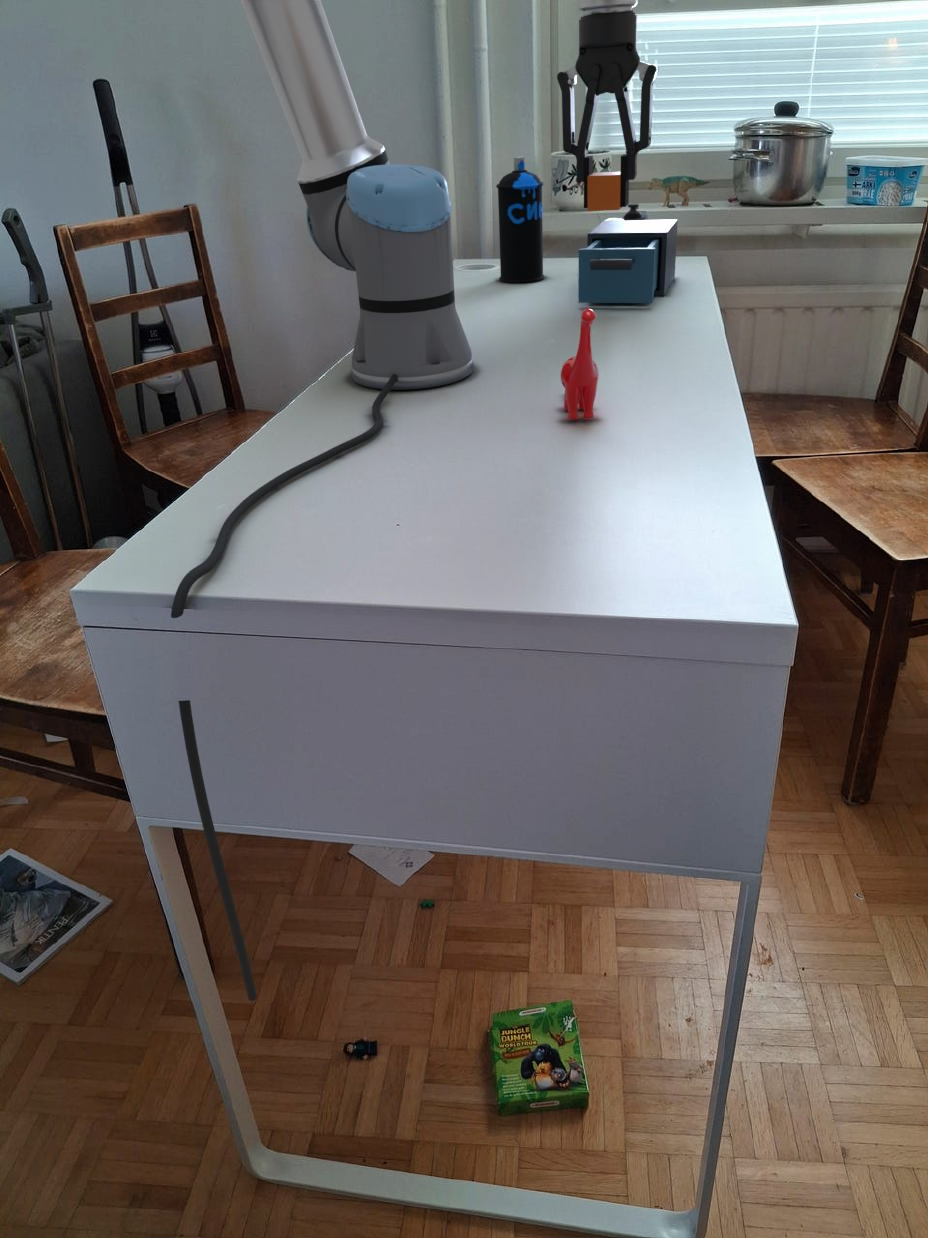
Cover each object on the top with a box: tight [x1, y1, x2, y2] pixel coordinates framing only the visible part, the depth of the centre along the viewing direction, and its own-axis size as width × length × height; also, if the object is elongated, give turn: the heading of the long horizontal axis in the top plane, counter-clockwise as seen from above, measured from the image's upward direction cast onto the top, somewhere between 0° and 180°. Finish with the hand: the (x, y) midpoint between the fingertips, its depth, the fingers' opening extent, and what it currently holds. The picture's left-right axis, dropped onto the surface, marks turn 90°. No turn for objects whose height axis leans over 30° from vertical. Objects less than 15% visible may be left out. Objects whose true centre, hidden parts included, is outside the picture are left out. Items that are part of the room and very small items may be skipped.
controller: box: [621, 203, 649, 220], centre depth 181 cm, size 4×12×10 cm, turn 164°
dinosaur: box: [560, 308, 599, 421], centre depth 96 cm, size 4×15×12 cm, turn 1°
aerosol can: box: [495, 156, 545, 284], centre depth 165 cm, size 8×8×20 cm
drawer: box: [577, 238, 661, 304], centre depth 145 cm, size 18×11×8 cm, turn 163°
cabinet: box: [586, 218, 679, 297], centre depth 156 cm, size 15×13×10 cm
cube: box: [587, 170, 623, 212], centre depth 132 cm, size 4×4×4 cm
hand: (606, 205), depth 133 cm, fingers closed on cube, 4 cm apart
